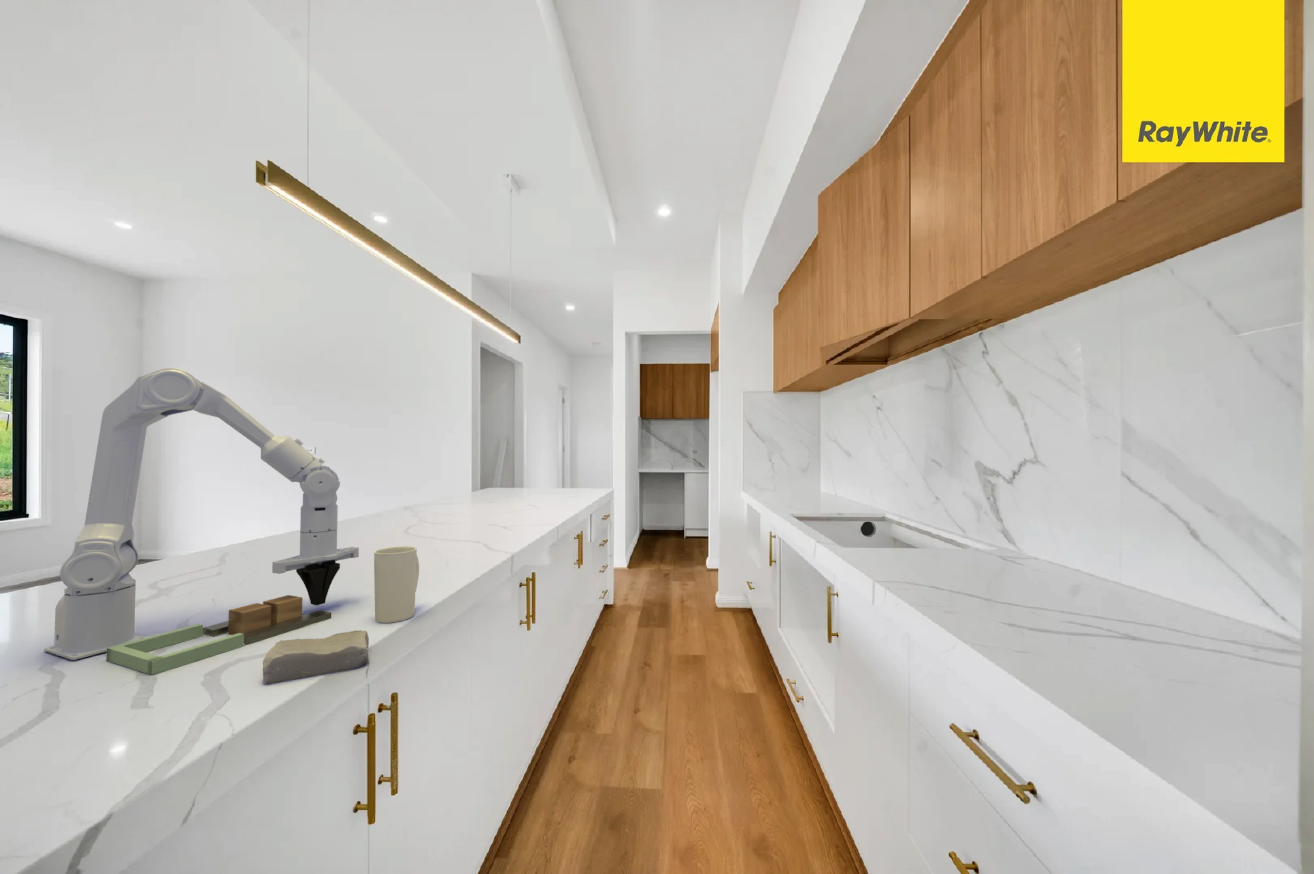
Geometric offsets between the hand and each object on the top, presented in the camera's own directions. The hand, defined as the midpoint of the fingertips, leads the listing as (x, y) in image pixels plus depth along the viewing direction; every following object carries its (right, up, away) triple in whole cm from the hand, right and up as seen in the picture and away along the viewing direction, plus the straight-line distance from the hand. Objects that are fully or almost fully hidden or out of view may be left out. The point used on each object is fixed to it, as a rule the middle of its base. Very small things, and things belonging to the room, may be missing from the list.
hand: (317, 603), depth 91 cm
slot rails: (-3, -1, -7) cm, 8 cm away
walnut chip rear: (-2, -1, -6) cm, 6 cm away
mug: (+17, -1, -2) cm, 17 cm away
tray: (-8, -1, -19) cm, 21 cm away
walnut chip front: (-4, -1, -10) cm, 11 cm away
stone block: (+16, -1, -22) cm, 27 cm away
